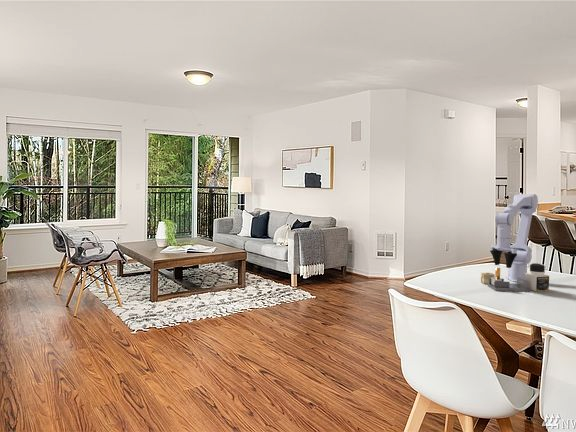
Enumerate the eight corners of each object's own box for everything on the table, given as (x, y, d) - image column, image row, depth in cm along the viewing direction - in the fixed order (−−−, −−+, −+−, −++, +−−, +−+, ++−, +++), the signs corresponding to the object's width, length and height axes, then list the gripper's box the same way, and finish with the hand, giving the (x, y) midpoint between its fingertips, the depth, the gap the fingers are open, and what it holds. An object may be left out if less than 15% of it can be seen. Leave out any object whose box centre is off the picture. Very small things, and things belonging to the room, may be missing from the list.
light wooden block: (480, 282, 222) (481, 272, 222) (491, 282, 222) (491, 272, 221) (483, 284, 218) (484, 273, 218) (494, 284, 218) (494, 273, 217)
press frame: (487, 286, 214) (487, 276, 214) (519, 286, 213) (519, 277, 213) (495, 291, 204) (495, 281, 204) (528, 291, 203) (529, 281, 203)
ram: (490, 283, 212) (491, 266, 211) (497, 283, 211) (497, 266, 211) (494, 285, 207) (495, 268, 206) (501, 286, 206) (502, 268, 206)
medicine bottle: (536, 291, 203) (537, 265, 202) (524, 288, 210) (525, 263, 209) (549, 290, 205) (550, 264, 204) (536, 287, 212) (537, 262, 211)
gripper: (486, 236, 218) (485, 264, 219) (508, 240, 205) (507, 269, 206) (498, 236, 220) (497, 263, 221) (520, 239, 206) (519, 268, 207)
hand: (502, 266), depth 214 cm, fingers open, 7 cm apart
